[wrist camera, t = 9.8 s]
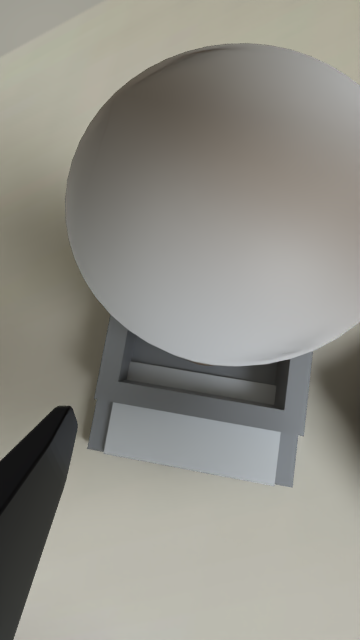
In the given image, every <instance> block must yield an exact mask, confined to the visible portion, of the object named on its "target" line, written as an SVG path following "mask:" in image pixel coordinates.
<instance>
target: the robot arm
mask: <svg viewBox="0 0 360 640" xmlns="http://www.w3.org/2000/svg"><path fill="white" fill-rule="evenodd" d="M77 428H78V424H77V420H76V417H75V414H74V411H73V409H72V407H71V406H57V407H56V408H54V409H53V410H52V411H51V412H50V413H49V414H48V415H47V416H46V417H45V418H44V419H43V420H42V421H41V422H40V423H39V424H38V425H37V426H36V427H35V428H34V429H33V430H32V431H31V432H30V433H29V434H28V435H27V436H26V437H25V438H24V439H23V440H21V441H20V442H19V443H18V444H17V445H16V446H15V447H14V448H13V449H12V450H11V451H10V452H9V453H8V454H7V455H6V456H5V457H4V458H3V459H2V460H1V461H0V640H13V639H14V636H15V633H16V630H17V627H18V624H19V621H20V618H21V615H22V612H23V609H24V606H25V603H26V600H27V597H28V594H29V591H30V588H31V585H32V582H33V579H34V576H35V573H36V570H37V567H38V564H39V561H40V558H41V555H42V552H43V549H44V546H45V543H46V540H47V537H48V534H49V531H50V528H51V525H52V522H53V519H54V516H55V513H56V510H57V507H58V504H59V501H60V498H61V495H62V492H63V489H64V485H65V482H66V478H67V474H68V470H69V465H70V461H71V456H72V452H73V447H74V443H75V438H76V433H77Z"/></svg>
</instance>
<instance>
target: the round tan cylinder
mask: <svg viewBox="0 0 360 640" xmlns="http://www.w3.org/2000/svg"><path fill="white" fill-rule="evenodd" d="M65 213H66V225H67V231H68V237H69V242H70V245H71V249H72V252H73V255H74V258H75V261H76V263H77V265H78V267H79V270H80V272H81V274H82V276H83V278H84V280H85V282H86V283H87V285H88V286H89V288H90V289H91V291H92V292H93V294H94V295H95V297H96V298H97V299H98V301H99V302H100V303H101V304H102V305H103V306H104V307H105V309H106V310H107V311H108V312H109V313H110V314H111V315H112V316H113V317H114V318H115V319H116V320H117V321H119V322H120V323H121V324H122V325H123V326H124V327H126V328H127V329H128V330H129V331H131V332H132V333H134V334H135V335H137V336H138V337H140V338H141V339H143V340H144V341H146V342H148V343H149V344H152V345H154V346H156V347H158V348H160V349H162V350H164V351H166V352H168V353H170V354H173V355H175V356H177V357H180V358H183V359H186V360H188V361H190V362H193V363H195V364H198V365H204V366H249V365H261V364H269V363H274V362H278V361H283V360H288V359H292V358H294V357H297V356H300V355H303V354H306V353H308V352H311V351H314V350H316V349H318V348H320V347H322V346H324V345H326V344H327V343H329V342H331V341H333V340H335V339H337V338H338V337H340V336H341V335H343V334H344V333H345V332H347V331H348V330H350V329H351V328H352V327H354V326H355V325H357V324H358V323H359V322H360V85H358V84H357V83H356V82H355V81H353V80H352V79H351V78H350V77H348V76H347V75H345V74H344V73H342V72H340V71H339V70H337V69H336V68H334V67H332V66H331V65H329V64H327V63H325V62H322V61H320V60H318V59H316V58H314V57H312V56H309V55H306V54H303V53H300V52H297V51H294V50H291V49H286V48H281V47H276V46H271V45H262V44H250V43H240V44H222V45H215V46H207V47H203V48H199V49H195V50H191V51H187V52H184V53H181V54H178V55H176V56H173V57H170V58H168V59H165V60H163V61H161V62H160V63H158V64H156V65H154V66H152V67H150V68H148V69H146V70H145V71H143V72H142V73H140V74H139V75H137V76H136V77H134V78H133V79H131V80H130V81H129V82H127V83H126V84H125V85H124V86H123V87H122V88H120V89H119V90H118V91H117V92H116V93H115V94H114V95H113V96H112V97H111V98H110V99H109V100H108V101H107V102H106V103H105V104H104V105H103V106H102V107H101V109H100V110H99V112H98V113H97V114H96V116H95V117H94V118H93V120H92V121H91V122H90V124H89V126H88V127H87V129H86V131H85V133H84V135H83V137H82V138H81V140H80V142H79V145H78V147H77V150H76V152H75V155H74V157H73V160H72V164H71V167H70V171H69V175H68V179H67V188H66V197H65Z"/></svg>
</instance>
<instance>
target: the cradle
mask: <svg viewBox="0 0 360 640" xmlns="http://www.w3.org/2000/svg"><path fill="white" fill-rule="evenodd" d="M312 355H313V351H311V352H308V353H306V354H303V355H300V356H297V357H294V358H292V359H288V360H283V361H278V362H274V363H269V364H261V365H249V366H204V365H198V364H195V363H193V362H190V361H188V360H186V359H183V358H180V357H177V356H175V355H173V354H170V353H168V352H166V351H164V350H162V349H160V348H158V347H156V346H154V345H152V344H149V343H148V342H146V341H144V340H143V339H141V338H140V337H138V336H137V335H135V334H134V333H132V332H131V331H129V330H128V329H127V328H126V327H124V326H123V325H122V324H121V323H120V322H119V321H117V320H116V319H115V318H114V317H113V316H112V315H110V320H109V325H108V330H107V335H106V340H105V345H104V351H103V356H102V361H101V366H100V371H99V376H98V381H97V386H96V391H95V397H94V399H97V402H96V407H95V412H94V417H93V422H92V427H91V432H90V438H89V443H88V448H87V449H92V450H97V451H102V452H104V454H108V455H113V456H119V457H124V458H129V459H134V460H140V461H145V462H150V463H155V464H161V465H166V466H171V467H176V468H182V469H187V470H192V471H197V472H203V473H208V474H213V475H218V476H224V477H229V478H234V479H239V480H245V481H250V482H255V483H260V484H266V485H271V486H274V485H275V484H276V485H281V486H287V487H293V478H294V469H295V460H296V450H297V441H298V435H300V436H304V429H305V420H306V410H307V401H308V392H309V382H310V373H311V364H312Z"/></svg>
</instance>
